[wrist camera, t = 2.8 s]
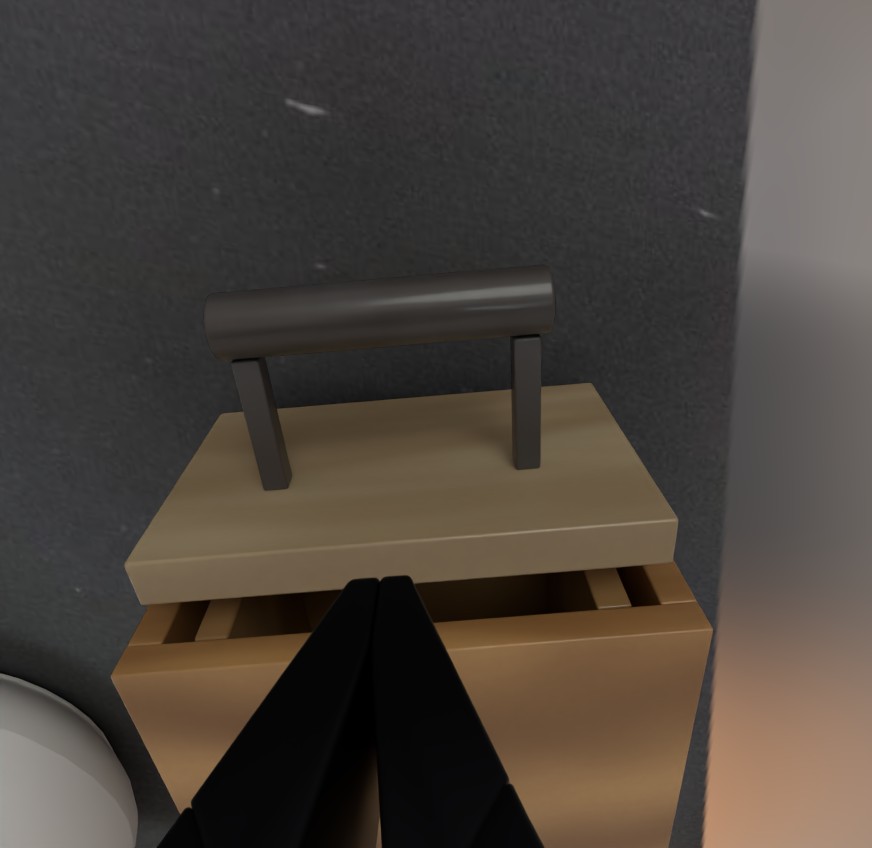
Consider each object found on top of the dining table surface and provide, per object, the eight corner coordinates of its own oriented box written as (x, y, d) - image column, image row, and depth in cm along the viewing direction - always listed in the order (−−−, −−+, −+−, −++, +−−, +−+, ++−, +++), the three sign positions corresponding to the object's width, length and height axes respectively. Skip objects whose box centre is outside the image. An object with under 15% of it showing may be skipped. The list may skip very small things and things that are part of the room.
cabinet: (226, 459, 20) (109, 677, 12) (599, 428, 20) (714, 629, 12) (306, 730, 27) (262, 976, 19) (582, 709, 27) (648, 949, 19)
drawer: (175, 257, 16) (26, 348, 10) (600, 220, 16) (715, 290, 10) (302, 699, 24) (264, 892, 18) (576, 679, 24) (628, 866, 18)
